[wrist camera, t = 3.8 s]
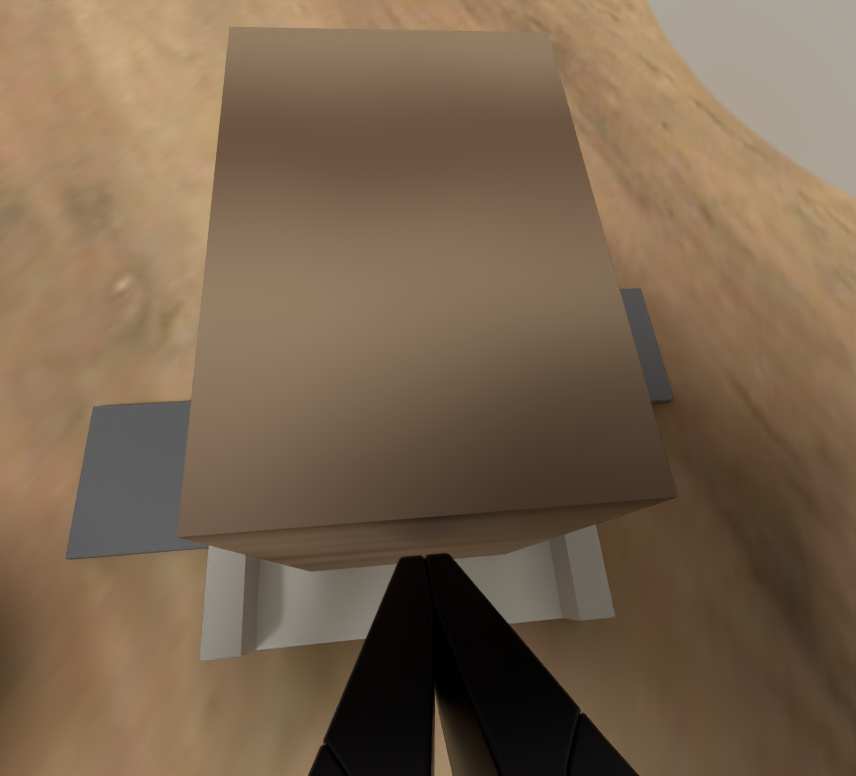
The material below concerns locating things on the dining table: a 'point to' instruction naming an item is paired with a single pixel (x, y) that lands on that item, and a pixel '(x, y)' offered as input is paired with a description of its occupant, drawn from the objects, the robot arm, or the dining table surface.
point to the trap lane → (295, 588)
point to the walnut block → (407, 309)
